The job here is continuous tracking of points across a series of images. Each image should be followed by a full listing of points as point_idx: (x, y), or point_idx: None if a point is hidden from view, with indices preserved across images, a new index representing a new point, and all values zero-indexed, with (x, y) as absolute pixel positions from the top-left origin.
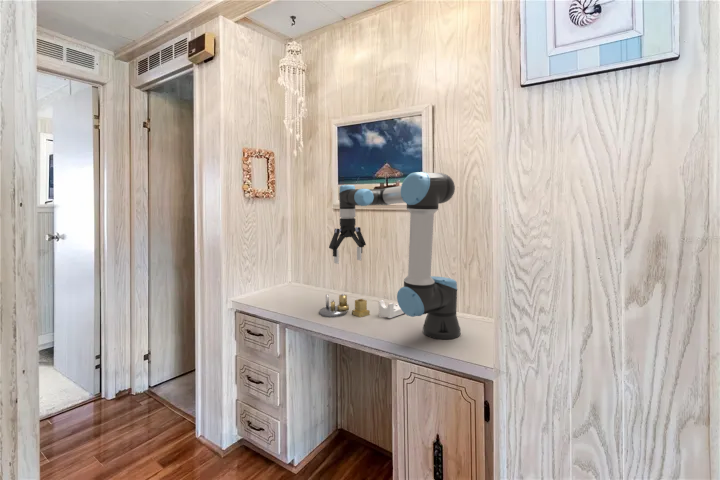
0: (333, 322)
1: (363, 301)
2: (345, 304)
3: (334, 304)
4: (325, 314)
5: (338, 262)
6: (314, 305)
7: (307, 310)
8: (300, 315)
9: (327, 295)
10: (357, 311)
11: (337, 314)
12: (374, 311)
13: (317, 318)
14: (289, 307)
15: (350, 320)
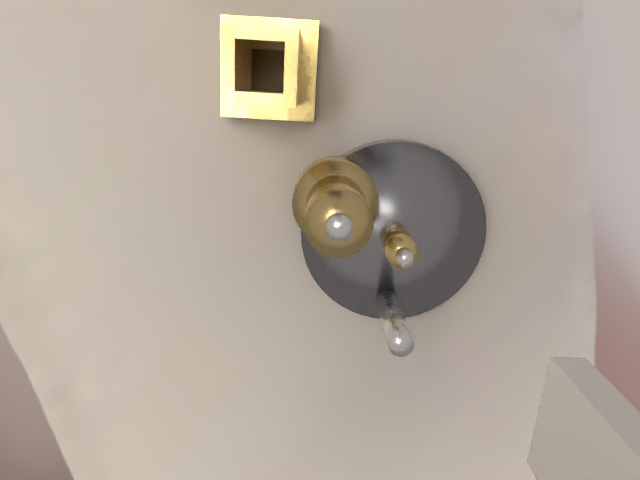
0: (519, 69)
1: (257, 26)
2: (337, 177)
3: (396, 235)
4: (481, 202)
5: (571, 371)
6: (374, 421)
7: (468, 371)
8: (560, 322)
9: (405, 335)
10: (303, 67)
11: (426, 146)
12: (146, 57)
13: (531, 208)
14: (502, 476)
15: (410, 18)
